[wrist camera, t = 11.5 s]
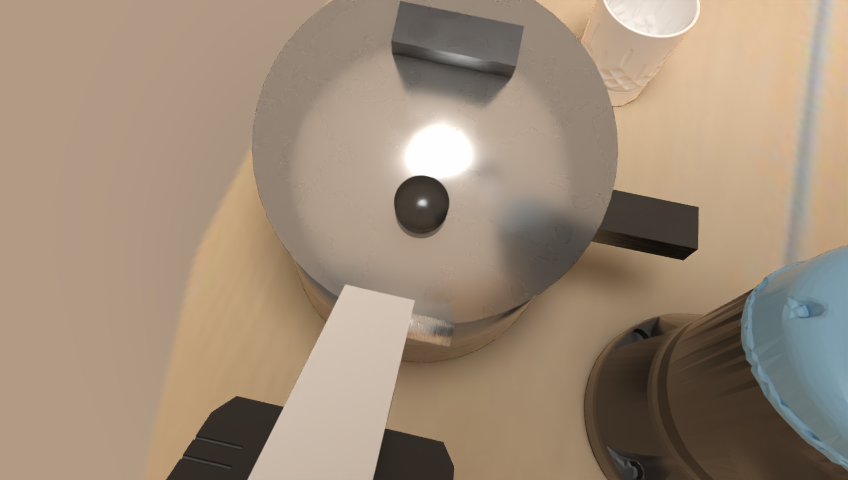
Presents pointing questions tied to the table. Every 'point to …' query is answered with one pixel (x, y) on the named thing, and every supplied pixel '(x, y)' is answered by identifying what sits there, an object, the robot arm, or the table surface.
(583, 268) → the table surface
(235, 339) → the table surface
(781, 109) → the table surface
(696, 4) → the white cup
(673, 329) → the robot arm
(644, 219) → the cooker pot
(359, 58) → the cooker lid
